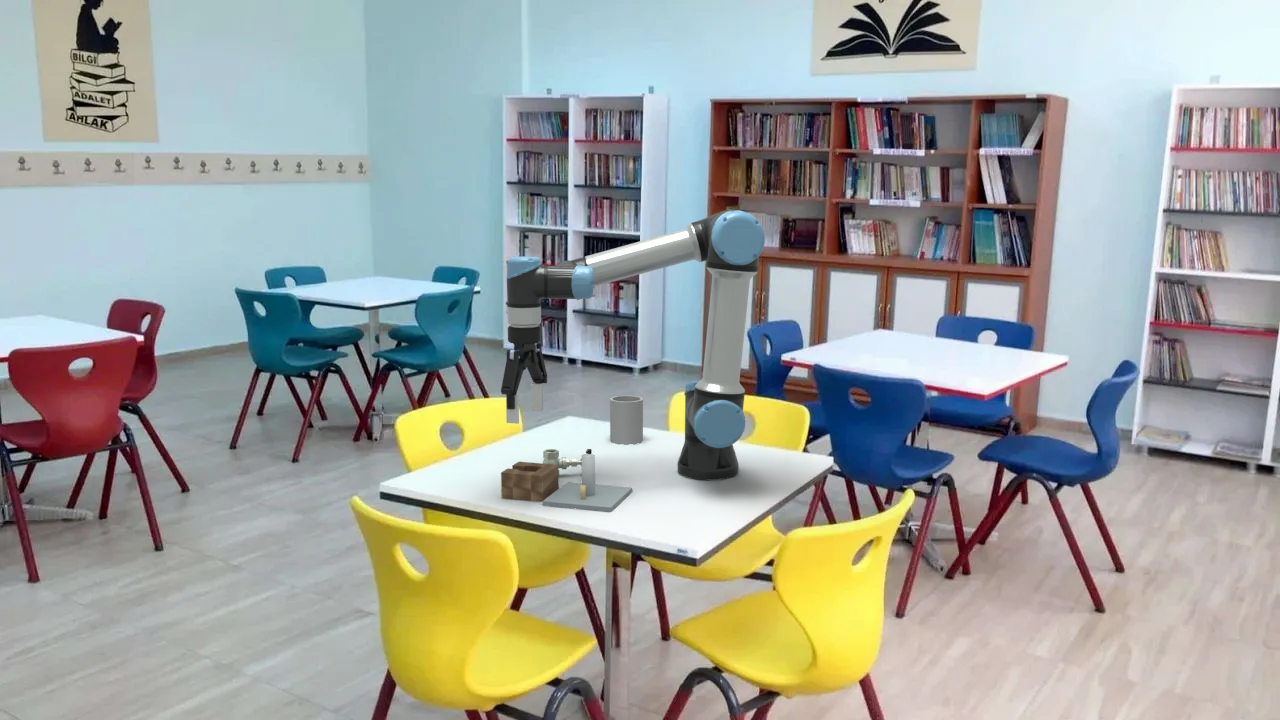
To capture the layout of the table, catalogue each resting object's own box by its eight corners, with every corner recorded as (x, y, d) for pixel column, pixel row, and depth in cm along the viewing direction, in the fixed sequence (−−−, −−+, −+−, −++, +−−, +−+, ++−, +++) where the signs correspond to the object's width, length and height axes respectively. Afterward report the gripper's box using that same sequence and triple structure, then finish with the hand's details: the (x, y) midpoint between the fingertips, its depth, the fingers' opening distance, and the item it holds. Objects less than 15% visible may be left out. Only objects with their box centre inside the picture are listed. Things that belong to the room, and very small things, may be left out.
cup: (607, 444, 284) (607, 401, 283) (613, 436, 293) (613, 395, 291) (640, 445, 283) (640, 402, 281) (645, 437, 292) (645, 396, 290)
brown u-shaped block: (558, 489, 241) (558, 464, 240) (542, 501, 232) (542, 476, 231) (519, 486, 244) (518, 461, 243) (501, 498, 235) (501, 472, 234)
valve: (544, 481, 249) (593, 478, 251) (543, 454, 248) (593, 452, 250) (541, 473, 255) (589, 471, 257) (541, 447, 254) (589, 445, 256)
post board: (632, 491, 240) (632, 449, 238) (610, 512, 225) (610, 467, 223) (567, 485, 244) (567, 444, 243) (542, 505, 229) (541, 461, 227)
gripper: (531, 318, 247) (532, 405, 250) (484, 331, 223) (486, 427, 227) (560, 319, 244) (561, 407, 248) (516, 333, 221) (517, 429, 224)
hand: (525, 416), depth 237 cm, fingers open, 13 cm apart
